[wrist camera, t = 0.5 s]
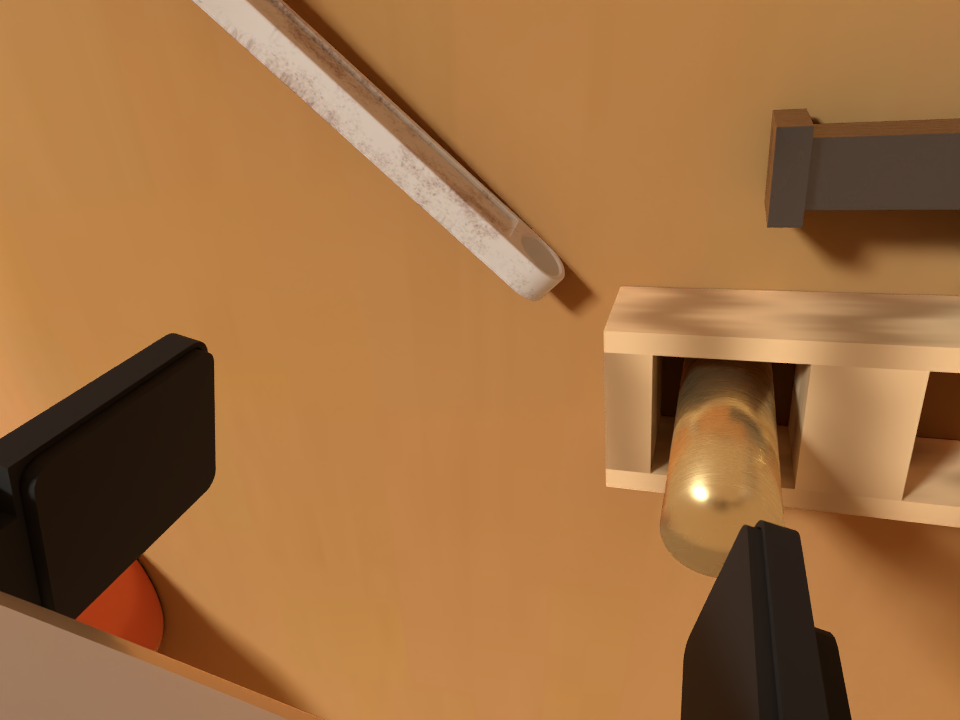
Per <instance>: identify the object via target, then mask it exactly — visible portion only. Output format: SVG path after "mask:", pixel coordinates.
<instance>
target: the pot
mask: <svg viewBox="0 0 960 720" xmlns="http://www.w3.org/2000/svg"><path fill="white" fill-rule="evenodd" d="M75 620H77V621H79V622H82V623H84V624H87V625H89V626H92V627H94V628H97V629H99V630H102V631H105V632H107V633H110V634H112V635H115V636H117V637H120V638H122V639H125V640H127V641H130V642H132V643H135V644H137V645H140V646H142V647H145V648H147V649H150V650H152V651H155V652H157V651H158V649H159V647H160V644H161V641H162V637H163V630H164V621H163V613H162V608H161V605H160V601H159V599H158V596H157V593H156V591H155V589H154V587H153V585H152V583H151V581H150V579H149V577H148V576H147V574H146V572H145V571H144V569H143V568H142V566H141V565H140V563H139V562H138V560H137V559H136V560H135V561H134V562H133V563H132V564H131V565H130V566H129V567H128V568H127V569H126V570H125V571H124V572H123V573H122V574H121V575H120V576H119V577H118V578H117V579H116V580H115V581H114V582H113V583H112V584H111V585H110V586H109V587H108V588H107V589H106V590H105V591H104V592H103V593H102V594H101V595H100V596H99V597H98V598H97V599H96V600H95V601H94V602H93V603H92V604H91V605H89V606H88V607H87V608H86V609H85V610H84V611H83V612H82V613H81V614H80V615H79V616H78V617H77V618H76V619H75Z"/></svg>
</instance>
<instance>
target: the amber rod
mask: <svg viewBox="0 0 960 720" xmlns="http://www.w3.org/2000/svg"><path fill="white" fill-rule="evenodd" d="M759 520H764V521H767V522H770V523H773V524H776V525H779V526H783V527H784V514H783V501H782V488H781V476H780V463H779V450H778V437H777V424H776V411H775V399H774V386H773V373H772V362H760V361H743V360H726V359H708V358H691V357H685V358H684V362H683V369H682V376H681V383H680V390H679V397H678V403H677V410H676V417H675V424H674V431H673V438H672V445H671V451H670V458H669V465H668V472H667V479H666V486H665V493H664V499H663V506H662V513H661V520H660V533H661V537H662V540H663V542H664V544H665V546H666V548H667V549H668V551H669V552H670V553H671V554H672V555H673V556H674V557H675V559H677V560H678V561H679V562H680V563H682V564H683V565H685V566H686V567H688V568H689V569H691V570H693V571H696V572H698V573H701V574H703V575H707V576H711V577H716V578H717V577H718V575H719V573H720V571H721V569H722V567H723V565H724V563H725V560H726V558H727V556H728V554H729V552H730V550H731V548H732V546H733V544H734V542H735V540H736V537H737V535H738V533H739V531H740V529H741V528H742V526H743V525H745V524H746V525H749V526H752V527H755V525H756V523H757V522H758V521H759Z"/></svg>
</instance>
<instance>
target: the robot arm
mask: <svg viewBox="0 0 960 720" xmlns="http://www.w3.org/2000/svg"><path fill="white" fill-rule="evenodd" d="M215 470H216V466H215V400H214V359H213V356H212V354H210V353H208V351H207V347H206V345H205V344H204V343H203V342H200V341H197V340H194V339H191V338H188V337H185V336H182V335H178V334H174V333H171V334H168V335H166V336H164V337H163V338H161V339H160V340H158V341H156V342H155V343H153V344H152V345H150V346H148V347H147V348H145V349H143V350H142V351H140V352H139V353H137V354H135V355H134V356H132V357H131V358H129V359H127V360H126V361H124V362H123V363H121V364H119V365H118V366H116V367H115V368H113V369H111V370H110V371H108V372H107V373H105V374H103V375H102V376H100V377H99V378H97V379H95V380H94V381H92V382H91V383H89V384H87V385H86V386H84V387H83V388H81V389H79V390H78V391H76V392H75V393H73V394H71V395H70V396H68V397H67V398H65V399H63V400H62V401H60V402H58V403H57V404H55V405H54V406H52V407H50V408H49V409H47V410H46V411H44V412H42V413H41V414H39V415H38V416H36V417H34V418H33V419H31V420H30V421H28V422H26V423H25V424H23V425H22V426H20V427H18V428H17V429H15V430H14V431H12V432H10V433H9V434H7V435H6V436H4V437H2V438H1V439H0V720H324V719H322V718H319V717H317V716H314V715H312V714H309V713H307V712H304V711H302V710H299V709H297V708H294V707H292V706H290V705H287V704H285V703H282V702H280V701H277V700H275V699H272V698H270V697H267V696H265V695H262V694H260V693H257V692H255V691H252V690H250V689H247V688H245V687H242V686H240V685H237V684H235V683H232V682H230V681H227V680H225V679H223V678H220V677H218V676H215V675H213V674H210V673H208V672H205V671H203V670H200V669H198V668H195V667H193V666H190V665H188V664H185V663H183V662H180V661H178V660H175V659H173V658H170V657H168V656H165V655H163V654H160V653H157V652H155V651H152V650H150V649H147V648H145V647H142V646H140V645H137V644H135V643H132V642H130V641H127V640H125V639H122V638H120V637H117V636H115V635H112V634H110V633H107V632H105V631H102V630H99V629H97V628H94V627H92V626H89V625H87V624H84V623H82V622H79V621H77V620H75V619H76V618H77V617H78V616H79V615H80V614H81V613H82V612H83V611H84V610H85V609H86V608H87V607H88V606H89V605H91V604H92V603H93V602H94V601H95V600H96V599H97V598H98V597H99V596H100V595H101V594H102V593H103V592H104V591H105V590H106V589H107V588H108V587H109V586H110V585H111V584H112V583H113V582H114V581H115V580H116V579H117V578H118V577H119V576H120V575H121V574H122V573H123V572H124V571H125V570H126V569H127V568H128V567H129V566H130V565H131V564H132V563H133V562H134V561H135V560H136V559H137V558H138V557H140V556H141V555H142V554H143V553H144V552H145V551H146V550H147V549H148V548H149V547H150V546H151V545H152V544H153V543H154V542H155V541H156V540H157V539H158V538H159V537H160V536H161V535H162V534H163V533H164V532H165V531H166V530H167V529H168V528H169V527H170V526H171V525H172V524H173V523H174V522H175V521H176V520H177V519H178V518H179V517H180V516H181V515H182V514H183V513H184V512H185V511H186V510H187V509H189V508H190V507H191V506H192V505H193V504H194V503H195V502H196V501H197V500H198V499H199V498H200V497H201V496H202V495H203V494H204V493H205V492H206V491H207V490H208V488H209V487H210V485H211V484H212V482H213V479H214V476H215ZM681 720H852V719H851V714H850V709H849V704H848V698H847V693H846V688H845V683H844V677H843V672H842V667H841V661H840V656H839V651H838V646H837V643H836V640H835V637H834V636H833V635H832V634H831V633H830V632H827V631H824V630H821V629H818V628H816V627H814V621H813V615H812V609H811V603H810V596H809V590H808V584H807V577H806V571H805V565H804V558H803V552H802V546H801V540H800V535H799V533H798V532H797V531H795V530H792V529H789V528H786V527H783V526H779V525H776V524H773V523H770V522H767V521H764V520H759V521H758V522H757V523H756V525H755V527H752V526H749V525H746V524H745V525H743V526H742V528H741V529H740V531H739V533H738V535H737V537H736V540H735V542H734V544H733V546H732V548H731V550H730V552H729V554H728V556H727V558H726V560H725V563H724V565H723V567H722V569H721V571H720V573H719V575H718V577H717V579H716V581H715V584H714V586H713V588H712V590H711V592H710V594H709V596H708V598H707V600H706V602H705V604H704V607H703V609H702V611H701V613H700V615H699V617H698V619H697V621H696V623H695V625H694V628H693V630H692V632H691V634H690V636H689V638H688V641H687V644H686V648H685V653H684V661H683V683H682V705H681Z"/></svg>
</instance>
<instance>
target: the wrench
mask: <svg viewBox="0 0 960 720" xmlns="http://www.w3.org/2000/svg"><path fill="white" fill-rule="evenodd" d="M192 1H194V2H195V3H196V4H197V5H198V6H199V7H200V8H201V9H202V10H204V11H205V12H206V13H207V14H208V15H209V16H210V17H211V18H212V19H214V20H215V21H216V22H217V23H218V24H219V25H220V26H221V27H222V28H224V29H225V30H226V31H227V32H228V33H229V34H230V35H231V36H232V37H234V38H235V39H236V40H237V41H238V42H239V43H240V44H241V45H242V46H244V47H245V48H246V49H247V50H248V51H249V52H250V53H251V54H252V55H254V56H255V57H256V58H257V59H258V60H259V61H260V62H261V63H262V64H263V65H265V66H266V67H267V68H268V69H269V70H270V71H271V72H272V73H273V74H275V75H276V76H277V77H278V78H279V79H280V80H281V81H282V82H283V83H285V84H286V85H287V86H288V87H289V88H290V89H291V90H292V91H293V92H295V93H296V94H297V95H298V96H299V97H300V98H301V99H302V100H303V101H305V102H306V103H307V104H308V105H309V106H310V107H311V108H312V109H313V110H315V111H316V112H317V113H318V114H319V115H320V116H321V117H322V118H323V119H325V120H326V121H327V122H328V123H329V124H330V125H331V126H332V127H333V128H334V129H336V130H337V131H338V132H339V133H340V134H341V135H342V136H343V137H344V138H346V139H347V140H348V141H349V142H350V143H351V144H352V145H353V146H354V147H356V148H357V149H358V150H359V151H360V152H361V153H362V154H363V155H364V156H366V157H367V158H368V159H369V160H370V161H371V162H372V163H373V164H374V165H376V166H377V167H378V168H379V169H380V170H381V171H382V172H383V173H384V174H386V175H387V176H388V177H389V178H390V179H391V180H392V181H393V182H394V183H396V184H397V185H398V186H399V187H400V188H401V189H402V190H403V191H404V192H405V193H407V194H408V195H409V196H410V197H411V198H412V199H413V200H414V201H415V202H417V203H418V204H419V205H420V206H421V207H422V208H423V209H424V210H425V211H427V212H428V213H429V214H430V215H431V216H432V217H433V218H434V219H435V220H437V221H438V222H439V223H440V224H441V225H442V226H443V227H444V228H445V229H447V230H448V231H449V232H450V233H451V234H452V235H453V236H454V237H455V238H457V239H458V240H459V241H460V242H461V243H462V244H463V245H464V246H465V247H467V248H468V249H469V250H470V251H471V252H472V253H473V254H474V255H475V256H476V257H478V258H479V259H480V260H481V261H482V262H483V263H484V264H485V265H486V266H488V267H489V268H490V269H491V270H492V271H493V272H494V273H495V274H496V275H498V276H499V277H500V278H501V279H502V280H503V281H504V282H505V283H506V284H508V285H509V286H510V287H511V288H512V289H513V290H514V291H516V292H517V293H518V294H519V295H521V296H523V297H525V298H526V299H529V300H532V301H536V300H540V299H541V298H543V297H544V296H545V295H546V294H547V293H548V292H549V291H550V290H552V289H553V288H554V287H555V286H556V285H557V284H558V283H559V282H561V281H562V280H563V278H564V277H565V270H564V265H563V263H562V261H561V260H560V258H559V256H558V255H557V254H556V253H555V252H554V251H553V250H552V249H551V248H550V247H549V246H548V245H547V244H546V243H545V242H544V241H543V240H542V239H541V238H540V237H539V236H538V235H537V234H536V233H535V232H534V231H533V230H532V229H531V228H530V227H529V226H527V225H526V224H525V223H524V222H523V221H522V220H521V219H520V218H519V217H518V216H517V215H516V214H515V213H514V212H512V211H511V210H510V209H509V208H508V207H507V206H506V205H505V204H504V203H503V202H501V201H500V200H499V199H498V198H497V197H496V196H495V195H494V194H493V193H492V192H490V191H489V190H488V189H487V188H486V187H485V186H484V185H483V184H482V183H481V182H479V181H478V180H477V179H476V178H475V177H474V176H473V175H472V174H471V173H470V172H468V171H467V170H466V169H465V168H464V167H463V166H462V165H461V164H460V163H459V162H458V161H457V160H455V159H454V158H453V157H452V156H451V155H450V154H449V153H448V152H447V151H446V150H445V149H444V148H442V147H441V146H440V145H439V144H438V143H437V142H436V141H435V140H434V139H433V138H432V137H431V136H429V135H428V134H427V133H426V132H425V131H424V130H423V129H422V128H421V127H420V126H419V125H418V124H416V123H415V122H414V121H413V120H412V119H411V118H410V117H409V116H408V115H407V114H406V113H405V112H403V111H402V110H401V109H400V108H399V107H398V106H397V105H396V104H395V103H394V102H393V101H392V100H390V99H389V98H388V97H387V96H386V95H385V94H384V93H383V92H382V91H381V90H380V89H378V88H377V87H376V86H375V85H374V84H373V83H372V82H371V81H370V80H369V79H368V78H366V77H365V76H364V75H363V74H362V73H361V72H360V71H359V70H358V69H357V68H356V67H354V66H353V65H352V64H351V63H350V62H349V61H348V60H347V59H346V58H345V57H344V56H342V55H341V54H340V53H339V52H338V51H337V50H336V49H335V48H334V47H333V46H332V45H330V44H329V43H328V42H327V41H326V40H325V39H324V38H323V37H322V36H321V35H320V34H319V33H317V32H316V31H315V30H314V29H313V28H312V27H311V26H310V25H309V24H308V23H307V22H305V21H304V20H303V19H302V18H301V17H300V16H299V15H298V14H297V13H296V12H295V11H294V10H292V9H291V8H290V7H289V6H288V5H287V4H286V3H285V2H284V1H283V0H192Z"/></svg>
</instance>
